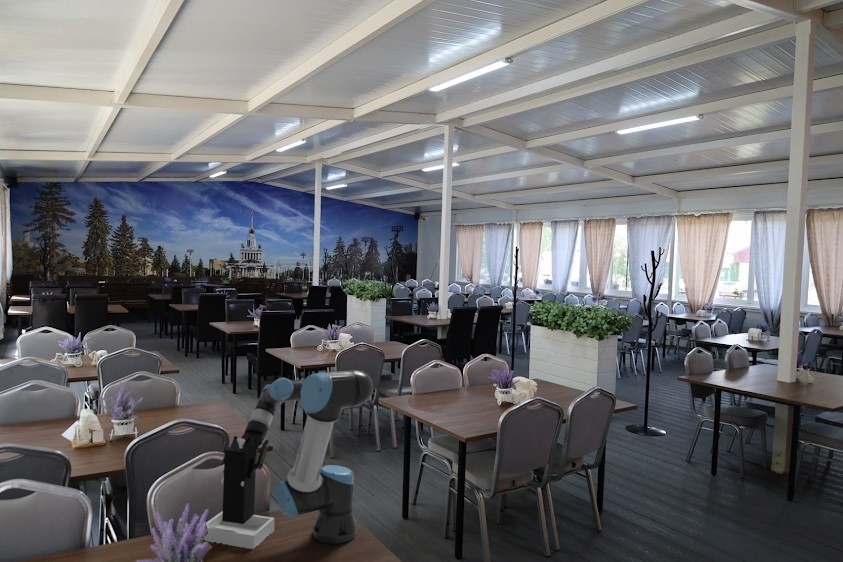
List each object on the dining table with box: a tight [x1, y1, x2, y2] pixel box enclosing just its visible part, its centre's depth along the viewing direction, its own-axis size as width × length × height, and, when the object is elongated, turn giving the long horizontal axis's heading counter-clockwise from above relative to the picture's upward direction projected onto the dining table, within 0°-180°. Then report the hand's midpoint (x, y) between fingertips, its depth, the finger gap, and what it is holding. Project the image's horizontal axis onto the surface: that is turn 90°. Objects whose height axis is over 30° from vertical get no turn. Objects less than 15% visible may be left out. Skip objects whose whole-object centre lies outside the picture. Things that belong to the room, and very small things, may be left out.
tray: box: [204, 510, 276, 550], centre depth 203 cm, size 20×14×4 cm
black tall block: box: [222, 438, 257, 524], centre depth 203 cm, size 8×8×28 cm
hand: (233, 485), depth 200 cm, fingers closed on black tall block, 7 cm apart
